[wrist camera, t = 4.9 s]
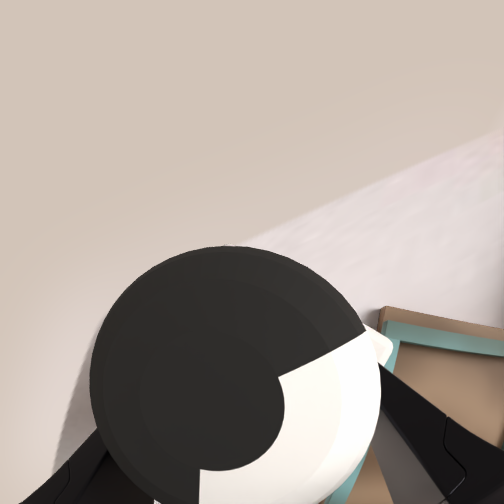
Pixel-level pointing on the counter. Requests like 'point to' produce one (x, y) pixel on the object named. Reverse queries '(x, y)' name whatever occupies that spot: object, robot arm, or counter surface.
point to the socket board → (437, 385)
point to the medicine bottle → (236, 380)
